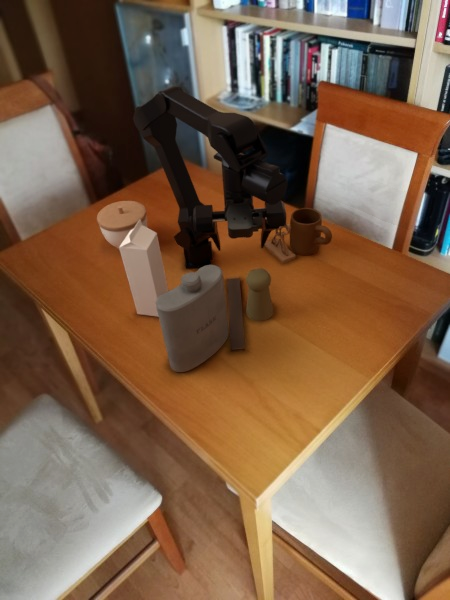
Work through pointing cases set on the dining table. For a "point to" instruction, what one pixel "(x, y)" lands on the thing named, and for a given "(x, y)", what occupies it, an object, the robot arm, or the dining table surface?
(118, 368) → the dining table surface
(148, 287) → the milk
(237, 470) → the dining table surface
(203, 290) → the flask
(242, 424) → the dining table surface
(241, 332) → the walnut ruler
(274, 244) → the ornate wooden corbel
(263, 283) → the olive pepper mill
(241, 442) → the dining table surface
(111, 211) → the lidded bowl
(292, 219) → the mug
